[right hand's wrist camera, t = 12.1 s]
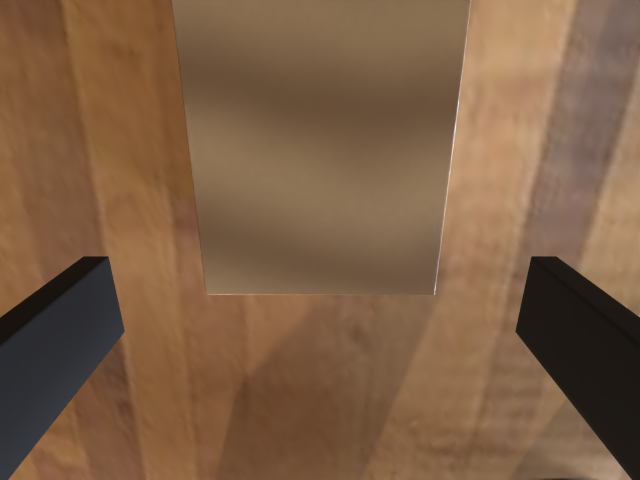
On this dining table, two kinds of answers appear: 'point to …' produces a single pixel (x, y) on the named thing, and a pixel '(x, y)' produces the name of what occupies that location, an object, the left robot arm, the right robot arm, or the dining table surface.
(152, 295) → the dining table surface
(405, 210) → the cabinet
